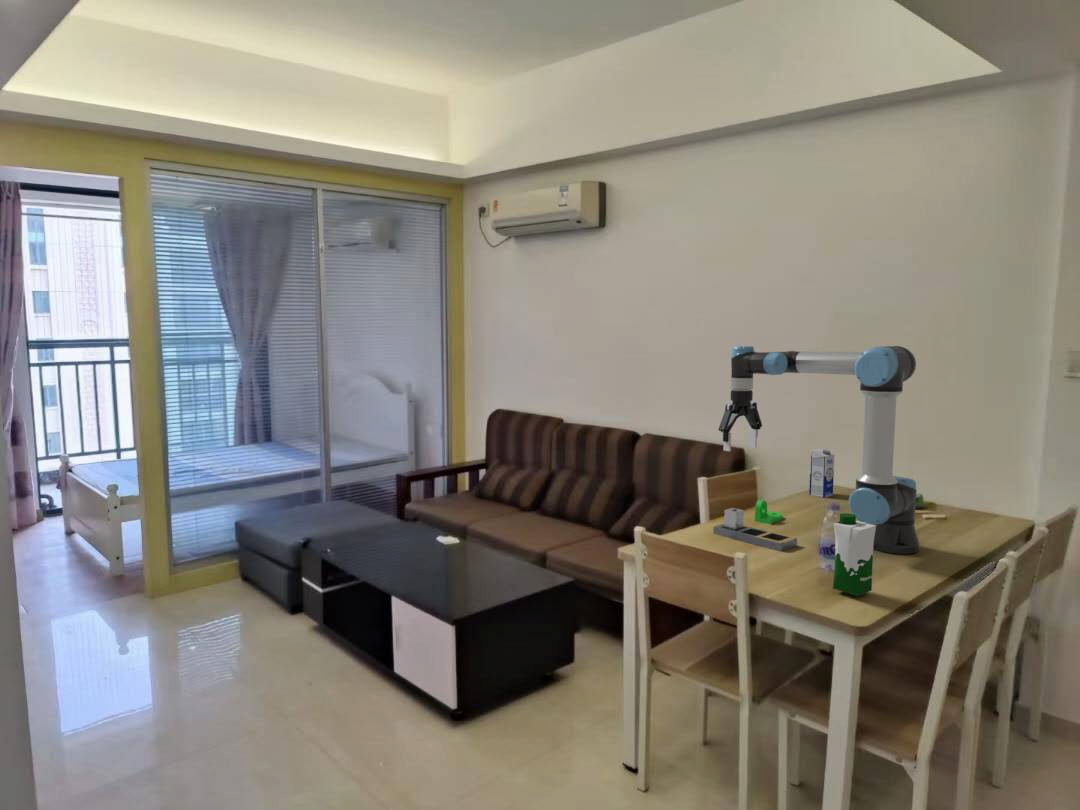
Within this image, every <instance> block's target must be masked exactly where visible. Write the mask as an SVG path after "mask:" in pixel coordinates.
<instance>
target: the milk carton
mask: <svg viewBox="0 0 1080 810" xmlns="http://www.w3.org/2000/svg"><path fill="white" fill-rule="evenodd" d="M834 474H835V454H834V453H832V452H831V451H830V450H828V449H823V448H820V447H818V448H813V449H810V464H809V492H808V494H809V496H811V497H818V498H823V499H825V498H829V497H832V496H834Z"/></svg>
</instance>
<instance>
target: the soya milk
mask: <svg viewBox="0 0 1080 810" xmlns="http://www.w3.org/2000/svg"><path fill="white" fill-rule="evenodd" d="M833 528H834V529H833V530H834V536H835V543H834V545H835V546H834V570H833V582H832V589H833V590H836V591H840V592H843V593H846V594H850V595H852V596H853V595H854V596H856V597H858V596H861V595H864V594H866V593H868V592H871V591H873V589H872V588H873V560H874V549H873V544H874V536H875V530H876V525H871V524H867V523H865V522H860V521H859V520H857V519H856V516H855V515H853V514H852V513H840V514H839V521H837V522H835V523H833Z"/></svg>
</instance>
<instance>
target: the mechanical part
mask: <svg viewBox="0 0 1080 810" xmlns="http://www.w3.org/2000/svg"><path fill="white" fill-rule="evenodd" d="M754 507H755V508H754V522H757V523H762V524H765V523H766V524H767V525H770V524H771V525H773V524H774V522H775V523H777V522H779V521H782V519H783V513H781V512H778V511H777V512H775V511H771V510H770V511H768V503H767V500H765V499H764V500H763V499H758V500H757V501H756V503H755V506H754ZM778 520H779V521H778ZM776 521H777V522H776ZM772 523H773V524H772Z"/></svg>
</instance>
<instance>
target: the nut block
mask: <svg viewBox="0 0 1080 810" xmlns="http://www.w3.org/2000/svg"><path fill="white" fill-rule="evenodd" d="M744 514H745V511H744V509H740V508H735V507H731V508H727V509H724V517H723V519H724V520H723V524H724V528H725V529H729V530H734V531H738V530H742V529H743V526H744V519H745V517H744Z"/></svg>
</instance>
